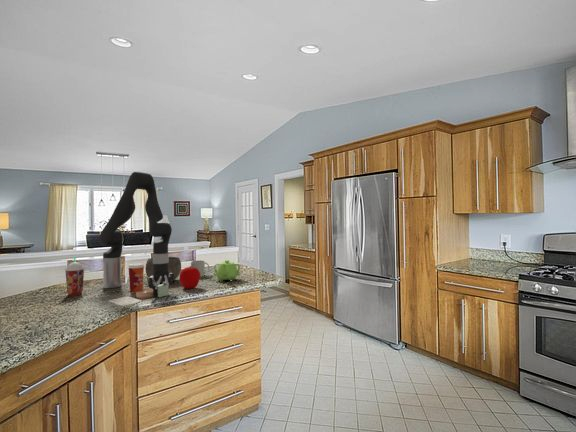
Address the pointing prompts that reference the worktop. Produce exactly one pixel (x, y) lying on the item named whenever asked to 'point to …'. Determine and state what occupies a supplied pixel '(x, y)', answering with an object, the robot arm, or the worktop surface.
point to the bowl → (173, 267)
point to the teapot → (227, 270)
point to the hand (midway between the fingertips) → (160, 295)
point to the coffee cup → (136, 276)
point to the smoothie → (74, 278)
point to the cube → (162, 290)
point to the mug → (200, 266)
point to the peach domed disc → (144, 293)
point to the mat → (124, 300)
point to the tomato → (189, 277)
